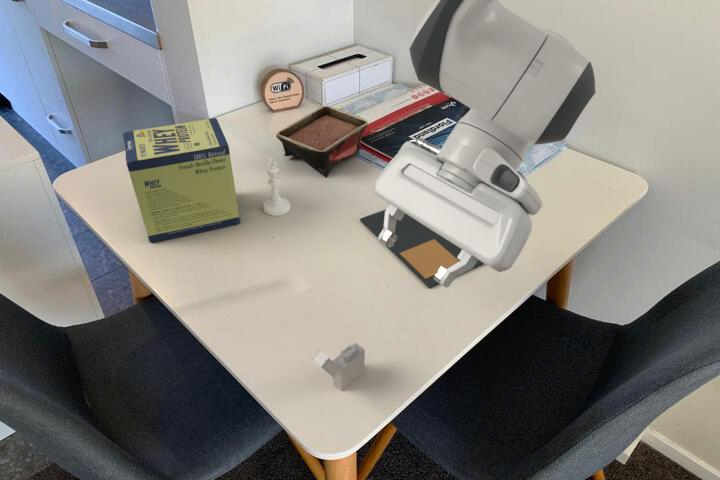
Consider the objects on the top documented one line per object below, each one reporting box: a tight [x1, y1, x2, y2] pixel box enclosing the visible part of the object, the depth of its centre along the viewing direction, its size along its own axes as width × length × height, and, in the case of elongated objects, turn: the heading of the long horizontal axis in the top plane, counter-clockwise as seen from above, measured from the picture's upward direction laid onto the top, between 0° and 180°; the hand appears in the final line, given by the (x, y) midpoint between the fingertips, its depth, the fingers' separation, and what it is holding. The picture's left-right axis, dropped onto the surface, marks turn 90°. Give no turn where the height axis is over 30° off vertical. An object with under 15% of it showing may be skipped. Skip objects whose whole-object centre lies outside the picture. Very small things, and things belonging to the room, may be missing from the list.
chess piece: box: [262, 158, 291, 217], centre depth 92 cm, size 5×5×10 cm
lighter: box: [312, 342, 366, 391], centre depth 63 cm, size 7×2×8 cm, turn 135°
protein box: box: [122, 117, 241, 244], centre depth 88 cm, size 10×16×16 cm
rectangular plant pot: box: [275, 105, 369, 178], centre depth 107 cm, size 14×18×10 cm
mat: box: [359, 208, 485, 289], centre depth 89 cm, size 20×16×1 cm
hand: (410, 262), depth 63 cm, fingers open, 8 cm apart
